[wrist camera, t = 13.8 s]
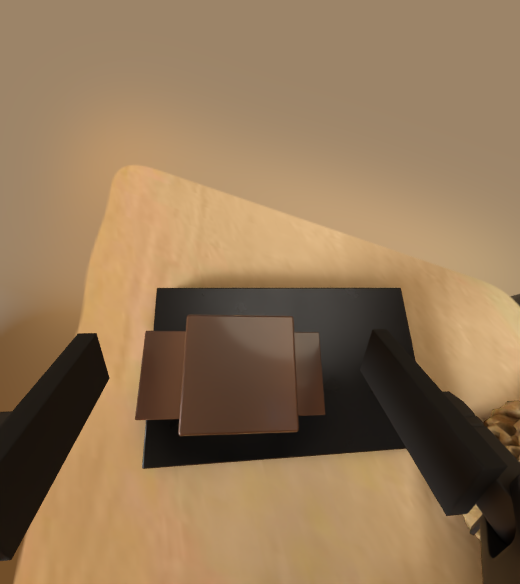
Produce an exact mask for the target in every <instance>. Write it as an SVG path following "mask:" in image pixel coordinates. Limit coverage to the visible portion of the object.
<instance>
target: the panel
mask: <svg viewBox="0 0 520 584" xmlns="http://www.w3.org/2000/svg"><path fill="white" fill-rule="evenodd" d="M188 315H248V316H292V317H293V318H294V332H319V338H320V352H321V365H322V378H323V391H324V404H325V415H307V416H298V420H299V430H298V431H297V432H280V433H251V434H222V435H192V436H180V435H179V433H178V430H179V419H161V420H146V427H145V439H144V451H143V463H142V468H143V469H147V468H160V467H173V466H186V465H199V464H212V463H225V462H238V461H251V460H264V459H277V458H290V457H303V456H316V455H329V454H342V453H355V452H368V451H381V450H394V449H407V448H406V447H405V445H404V443H403V442H402V440H401V438H400V437H399V435H398V433H397V432H396V430H395V428H394V426H393V425H392V423H391V421H390V420H389V418H388V416H387V415H386V413H385V411H384V410H383V408H382V406H381V405H380V403H379V401H378V400H377V398H376V396H375V394H374V393H373V391H372V389H371V388H370V386H369V384H368V383H367V381H366V379H365V378H364V376H363V374H362V373H361V371H360V368H361V365H362V362H363V359H364V355H365V352H366V349H367V346H368V342H369V339H370V336H371V333H372V329H387V330H388V331H389V332H390V333H391V334H392V336H393V337H394V338H395V339H396V340H397V341H398V342H399V343H400V345H401V346H402V347H403V348H404V349H405V350H406V351H407V352H408V354H409V355H410V356H411V357H412V358H413V359H414V360H415V356H414V351H413V346H412V341H411V336H410V331H409V326H408V321H407V317H406V312H405V307H404V302H403V297H402V292H401V288H157V295H156V307H155V319H154V331H186V323H187V316H188ZM415 362H416V361H415Z"/></svg>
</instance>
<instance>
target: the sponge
mask: <svg viewBox="0 0 520 584" xmlns="http://www.w3.org/2000/svg"><path fill="white" fill-rule="evenodd" d="M484 426H485V427H487V428H488V429H489V430H490V431H491V432H492V433H493V434H494V435H495V436H496V437H497V438H498V439H499V440H500V442H501V443H502V444H503V445H504V446H505V447H506V448H507V449H508V450H509V451H510V452H511V453H512V454H513V455H514V457H515V458H516V459H517V460H518V461H519V462H520V401H507V402H506V404H505V405H504V406H502V407H500V408H499V409H493V410H492V414H491V417H490V418H489V419H487V420H485V421H484ZM481 515H482V512H481V511H480V510H479V508H478V507H477V505H475V506H474V507H473V508H472V509H471V510H470V512H469V513H468V514H463V516H464V518H465V523H466V525H467V526H468V528H469V529H471V526H472V525H473V524H474V523H475V522H476V521H477V520H478V519H479V518H480V517H481ZM475 536H476V537H477V538H478V539H479V540H480V529H479V530H478V531H477V533H476V534H475ZM480 541H481V540H480Z"/></svg>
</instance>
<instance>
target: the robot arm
mask: <svg viewBox="0 0 520 584" xmlns="http://www.w3.org/2000/svg"><path fill="white" fill-rule="evenodd" d="M360 371H361V373H362V374H363V376H364V378H365V379H366V381H367V383H368V384H369V386H370V388H371V389H372V391H373V393H374V394H375V396H376V398H377V400H378V401H379V403H380V405H381V406H382V408H383V410H384V411H385V413H386V415H387V416H388V418H389V420H390V421H391V423H392V425H393V426H394V428H395V430H396V432H397V433H398V435H399V437H400V438H401V440H402V442H403V443H404V445H405V447H406V448H407V450H408V452H409V453H410V455H411V457H412V458H413V460H414V462H415V464H416V465H417V467H418V469H419V470H420V472H421V474H422V475H423V477H424V479H425V480H426V482H427V484H428V485H429V487H430V489H431V490H432V492H433V494H434V495H435V497H436V499H437V501H438V502H439V504H440V506H441V507H442V509H443V511H444V512H445V514H446V516H451V515H461V514H468V513H469V512H470V510H471V509H472V508H473V507H474V506H475V505H477V507H478V508H479V510H480V511H481V512H482V515H481V517H480V518H479V519H478V520H477V521H476V522H475V523H474V524H473V525H472V526H471V529H470V534H472V535H475V534H476V533H477V531H478V530H479V529H480V540H481V556H482V574H483V584H520V462H519V461H518V460H517V459H516V458H515V457H514V455H513V454H512V453H511V452H510V451H509V450H508V449H507V448H506V447H505V446H504V445H503V444H502V443H501V442H500V440H499V439H498V438H497V437H496V436H495V435H494V434H493V433H492V432H491V431H490V430H489V429H488V428H487V427H485V426H484V423H483V422H482V421H481V420H480V419H479V418H478V417H477V416H475V415H474V413H473V412H472V410H471V409H470V408H469V407H468V406H467V405H466V404H465V403H464V402H463V401H462V400H460V399H459V398H457V397H456V396H455V395H453V394H452V393H450V392H449V391H448V392H442V391H441V390H440V389H439V388H438V386H437V385H436V384H435V383H434V382H433V381H432V380H431V378H430V377H429V376H428V375H427V374H426V373H425V372H424V371H423V369H422V368H421V367H420V366H419V365H418V364H417V363H416V362H415V360H414V359H413V358H412V357H411V356H410V355H409V354H408V352H407V351H406V350H405V349H404V348H403V347H402V346H401V345H400V343H399V342H398V341H397V340H396V339H395V338H394V337H393V336H392V334H391V333H390V332H389V331H388V330H387V329H372V333H371V336H370V339H369V342H368V346H367V349H366V352H365V355H364V359H363V362H362V365H361V368H360ZM108 380H109V375H108V371H107V368H106V364H105V361H104V358H103V354H102V351H101V347H100V344H99V340H98V337H97V334H96V333H84V334H77V336H76V337H75V338H74V339H73V340H72V341H71V343H70V344H69V345H68V346H67V347H66V349H65V350H64V351H63V352H62V353H61V355H60V356H59V357H58V358H57V359H56V361H55V362H54V363H53V364H52V365H51V367H50V368H49V369H48V370H47V371H46V372H45V374H44V375H43V376H42V377H41V378H40V379H39V380H38V382H37V383H36V384H35V385H34V386H33V388H32V389H31V390H30V391H29V393H27V395H26V396H25V397H24V398H23V399H22V400H21V402H20V403H19V404H18V405H17V406H16V408H15V409H14V410H13V411H11V412H0V561H6V560H11V559H12V557H13V556H14V554H15V552H16V550H17V548H18V547H19V545H20V543H21V541H22V539H23V537H24V535H25V534H26V532H27V530H28V528H29V526H30V524H31V522H32V521H33V519H34V517H35V515H36V513H37V511H38V510H39V508H40V506H41V504H42V502H43V500H44V498H45V497H46V495H47V493H48V491H49V489H50V487H51V485H52V484H53V482H54V480H55V478H56V476H57V474H58V473H59V471H60V469H61V467H62V465H63V463H64V461H65V460H66V458H67V456H68V454H69V452H70V450H71V448H72V447H73V445H74V443H75V441H76V439H77V437H78V436H79V434H80V432H81V430H82V428H83V426H84V424H85V423H86V421H87V419H88V417H89V415H90V413H91V411H92V410H93V408H94V406H95V404H96V402H97V400H98V399H99V397H100V395H101V393H102V391H103V389H104V387H105V386H106V384H107V382H108Z"/></svg>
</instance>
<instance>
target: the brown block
mask: <svg viewBox="0 0 520 584" xmlns="http://www.w3.org/2000/svg"><path fill="white" fill-rule="evenodd" d="M307 415H325V404H324V391H323V378H322V365H321V352H320V338H319V332H294V318H293V317H292V316H248V315H188V316H187V323H186V331H146V333H145V341H144V349H143V358H142V366H141V374H140V382H139V391H138V399H137V407H136V416H135V420H161V419H179V430H178V433H179V435H180V436H192V435H222V434H251V433H280V432H297V431H298V430H299V420H298V416H307Z"/></svg>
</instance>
